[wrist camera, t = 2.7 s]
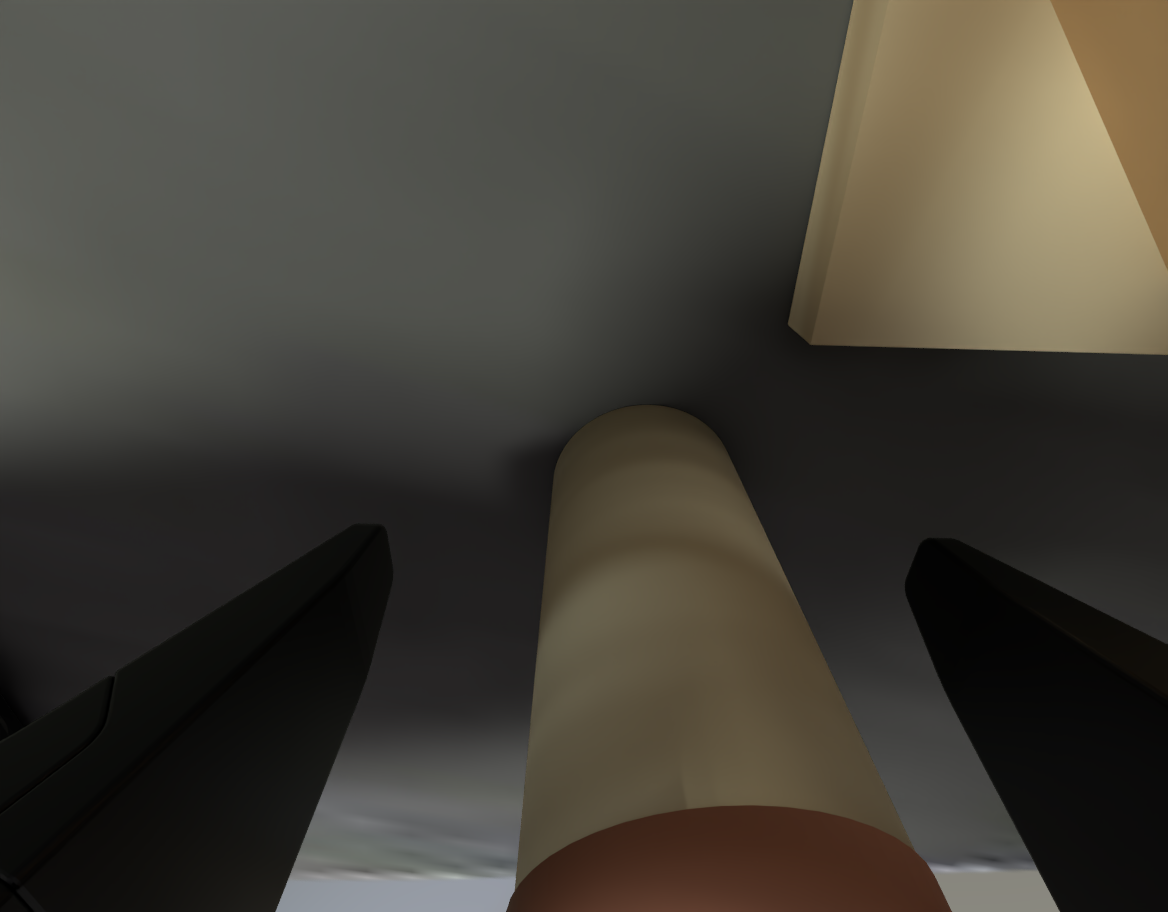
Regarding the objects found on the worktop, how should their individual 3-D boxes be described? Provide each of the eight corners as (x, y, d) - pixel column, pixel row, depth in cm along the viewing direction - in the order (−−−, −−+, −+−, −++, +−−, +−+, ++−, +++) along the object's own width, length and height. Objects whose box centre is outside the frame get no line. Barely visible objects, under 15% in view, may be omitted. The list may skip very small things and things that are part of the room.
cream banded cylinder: (550, 557, 11) (488, 1309, 4) (549, 399, 9) (443, 1185, 2) (721, 562, 11) (967, 1310, 4) (750, 404, 9) (1255, 1188, 2)
